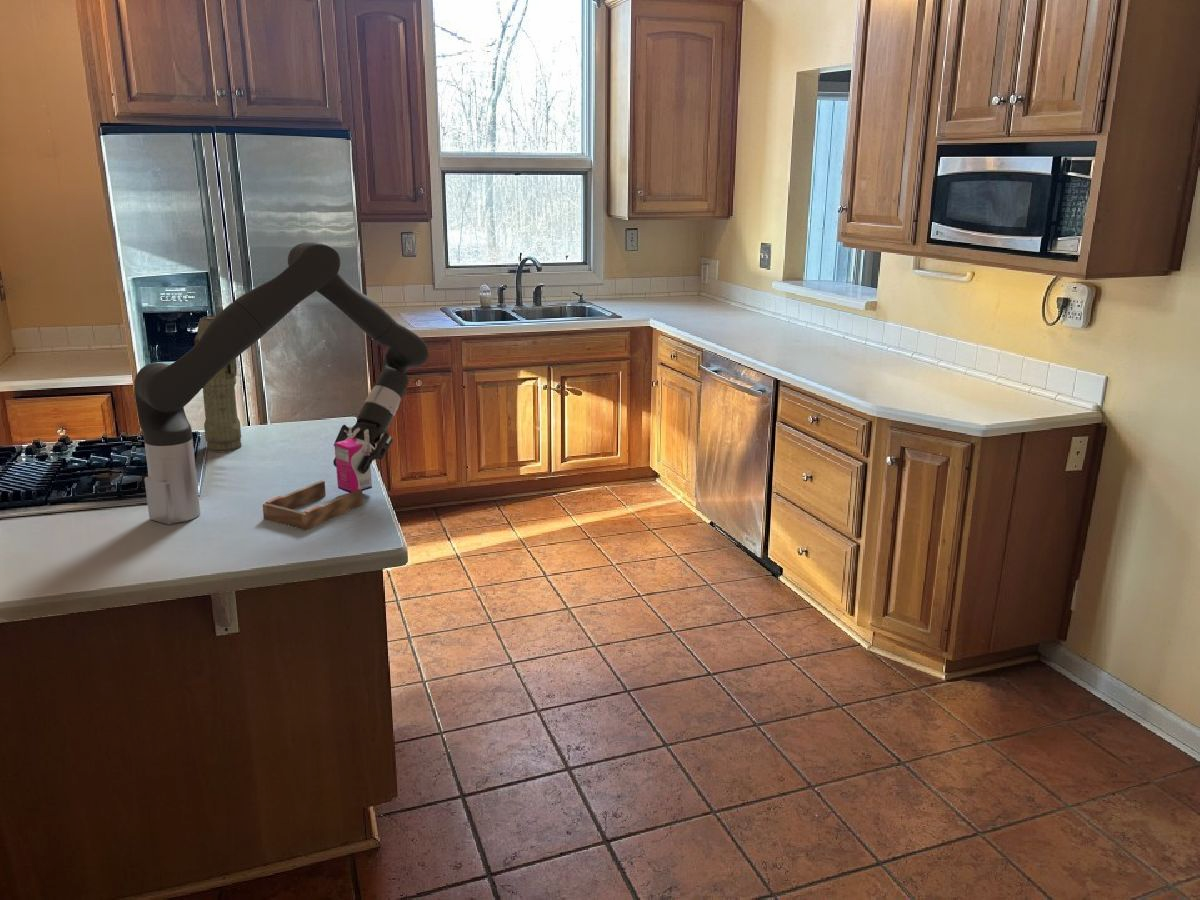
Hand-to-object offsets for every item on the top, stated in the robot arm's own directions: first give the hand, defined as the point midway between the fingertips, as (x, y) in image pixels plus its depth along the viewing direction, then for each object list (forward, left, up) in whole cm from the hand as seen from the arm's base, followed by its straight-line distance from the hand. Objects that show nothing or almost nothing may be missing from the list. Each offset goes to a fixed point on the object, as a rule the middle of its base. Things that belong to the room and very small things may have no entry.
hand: (348, 469), depth 208 cm
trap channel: (-12, 0, -7) cm, 13 cm away
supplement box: (+2, 0, -5) cm, 6 cm away
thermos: (+11, +53, -7) cm, 55 cm away
